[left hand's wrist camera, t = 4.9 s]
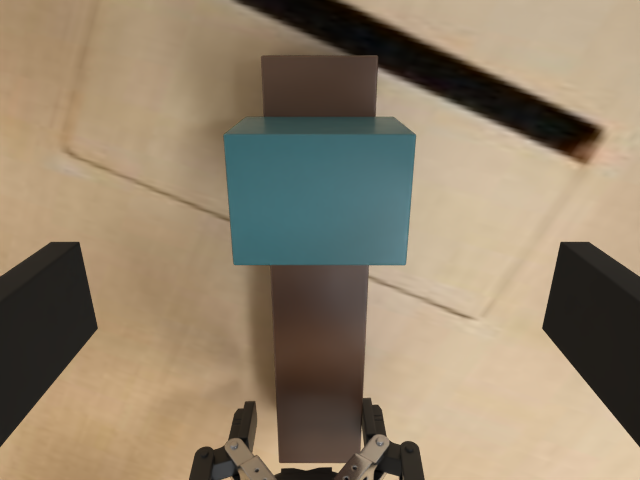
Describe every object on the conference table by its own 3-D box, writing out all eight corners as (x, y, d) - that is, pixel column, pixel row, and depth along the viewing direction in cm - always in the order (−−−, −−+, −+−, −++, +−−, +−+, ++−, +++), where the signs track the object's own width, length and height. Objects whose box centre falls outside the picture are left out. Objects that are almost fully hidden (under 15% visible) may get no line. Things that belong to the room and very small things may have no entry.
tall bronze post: (270, 56, 28) (260, 55, 23) (368, 56, 28) (378, 55, 23) (284, 414, 38) (279, 463, 34) (355, 414, 38) (360, 463, 34)
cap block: (245, 116, 24) (222, 134, 19) (394, 116, 24) (416, 134, 19) (251, 222, 26) (233, 265, 21) (388, 222, 26) (406, 265, 21)
